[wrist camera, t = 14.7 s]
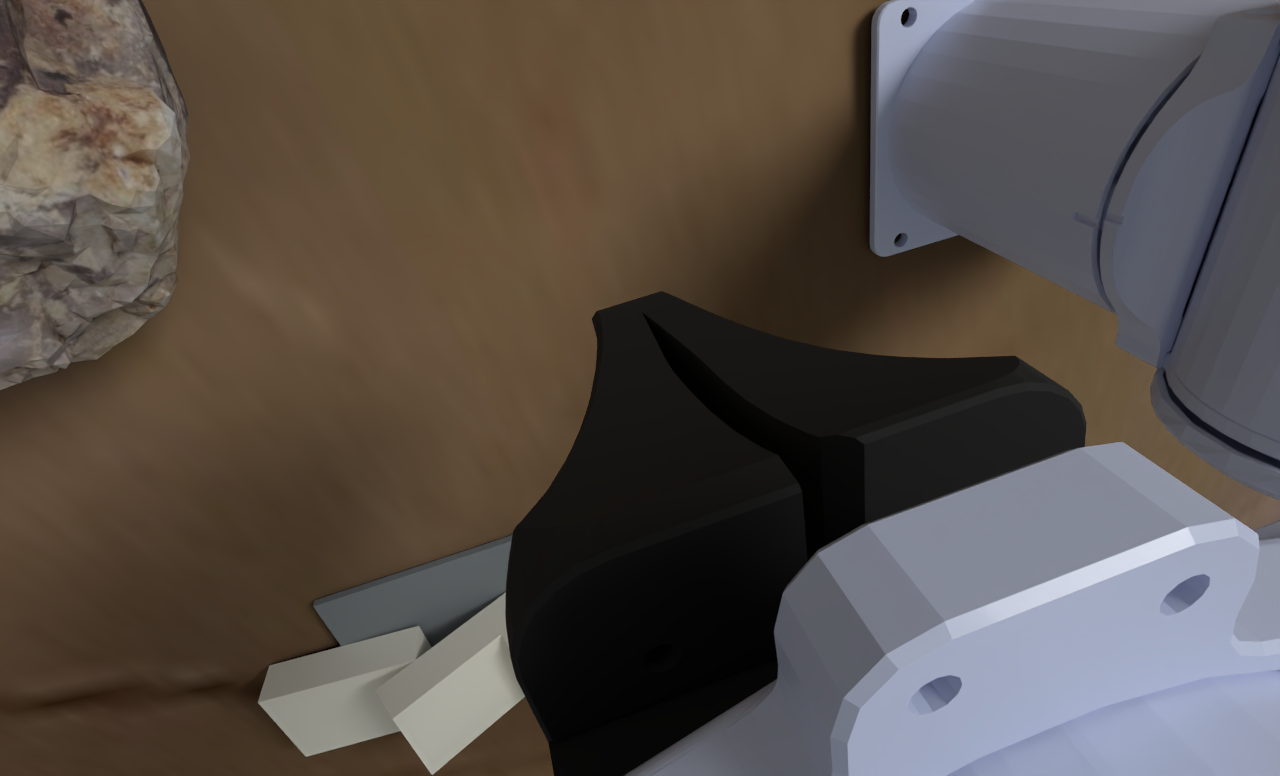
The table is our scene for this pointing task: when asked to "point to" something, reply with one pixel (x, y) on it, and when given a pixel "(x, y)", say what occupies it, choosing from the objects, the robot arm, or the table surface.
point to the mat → (420, 597)
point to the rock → (84, 180)
